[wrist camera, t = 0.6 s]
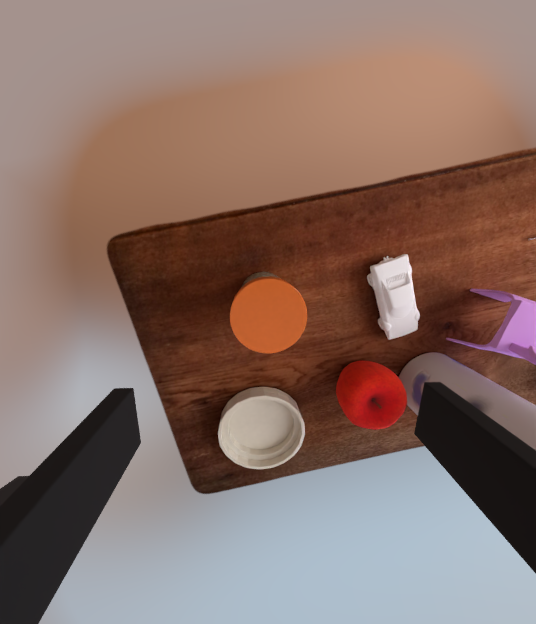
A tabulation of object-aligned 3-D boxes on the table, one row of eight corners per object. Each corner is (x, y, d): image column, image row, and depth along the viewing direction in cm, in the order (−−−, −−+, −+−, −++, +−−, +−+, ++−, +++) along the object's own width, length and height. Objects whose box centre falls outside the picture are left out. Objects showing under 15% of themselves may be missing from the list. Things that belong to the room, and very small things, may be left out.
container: (395, 358, 39) (537, 470, 19) (457, 346, 39) (659, 444, 20) (397, 412, 41) (525, 557, 22) (455, 400, 42) (633, 534, 22)
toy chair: (512, 298, 37) (677, 331, 23) (484, 350, 39) (619, 411, 25) (466, 283, 36) (608, 307, 22) (439, 337, 38) (553, 393, 24)
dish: (206, 435, 40) (202, 450, 37) (245, 371, 38) (245, 381, 35) (275, 464, 42) (276, 480, 40) (316, 406, 40) (321, 418, 37)
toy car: (380, 338, 38) (392, 347, 34) (362, 263, 34) (373, 264, 31) (414, 326, 38) (430, 334, 34) (399, 249, 34) (414, 249, 31)
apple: (316, 385, 39) (331, 418, 31) (348, 340, 37) (372, 363, 30) (360, 408, 41) (385, 445, 33) (393, 366, 39) (427, 394, 32)
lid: (217, 325, 26) (215, 331, 24) (253, 261, 24) (253, 263, 23) (279, 357, 27) (281, 365, 26) (317, 299, 26) (322, 303, 24)
